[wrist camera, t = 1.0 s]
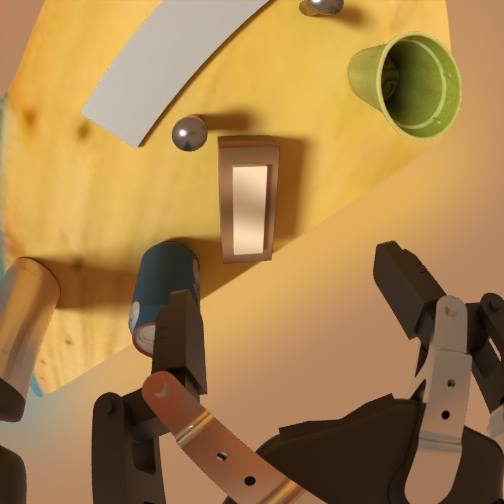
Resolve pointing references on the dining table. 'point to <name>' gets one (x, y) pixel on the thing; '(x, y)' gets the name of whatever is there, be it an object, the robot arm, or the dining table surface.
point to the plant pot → (410, 84)
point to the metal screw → (189, 133)
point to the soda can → (160, 288)
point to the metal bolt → (320, 7)
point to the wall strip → (161, 62)
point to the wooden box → (247, 196)
